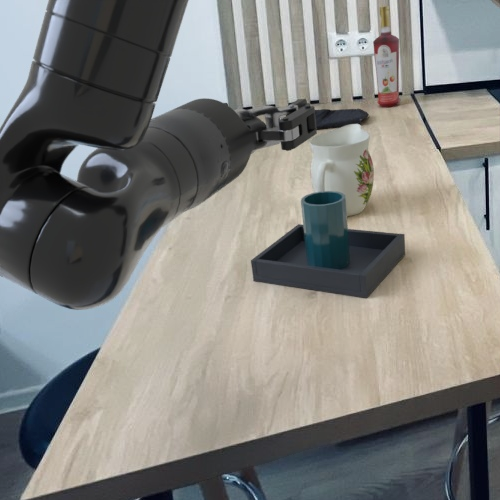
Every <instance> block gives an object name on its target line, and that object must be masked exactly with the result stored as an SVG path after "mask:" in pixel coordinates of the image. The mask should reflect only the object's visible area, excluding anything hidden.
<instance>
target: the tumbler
mask: <svg viewBox="0 0 500 500" xmlns="http://www.w3.org/2000/svg"><path fill="white" fill-rule="evenodd" d="M300 207H301V217H302V225H303V227H304V237H305V247H306V257H307V263H308V266H316V267H323V268H331V269H338V270H341V269H343V268H345V267H347V266H348V265H349V264H350V248H349V235H348V229H349V223H348V216H347V208H346V196H345V195H344V194H343V193H340V192H336V191H321V192H316V193H314V192H312V193H309V194H306V195H304V196H303V197H302V198H301V199H300Z"/></svg>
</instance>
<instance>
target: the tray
mask: <svg viewBox="0 0 500 500" xmlns="http://www.w3.org/2000/svg"><path fill="white" fill-rule="evenodd" d="M348 235H349V248H350V264H349V265H348V266H347V267H345V268H343V269H341V270H338V269H331V268H323V267H316V266H308V263H307V257H306V247H305V237H304V227H303V224H301V223H298V224H296V225H295V226H294V227H292V228H291V229H290V230H288V231H287V232H286V233H285V234H284V235H282V236H281V237H280V238H278V239H277V240H276V241H274V242H273V243H272V244H270V245H269V246H268V247H266V248H265V249H264V250H262V251H261V252H259V254H257V255H256V256H255V257H254V258H252V259H251V260H250V264H251V271H252V279H253V282H259V283H265V284H272V285H278V286H284V287H291V288H296V289H297V288H298V289H303V290H304V289H305V290H312V291H317V292H324V293H331V294H336V295H343V296H344V295H345V296H349V297H357V298H363V299H364V298H365V299H367V298H368V297H370V295H371V294H372V293H373V291H374V290H375V289H377V287H378V286H379V285H380V284H381V283H382V282H383V281H384V279H385V278H386V277H387V276H388V275H389V274H390V273H391V271H392V270H393V269H394V268H395V267H396V266H397V265H398V263H400V261H401V260H402V259H403V258H404V256H406V241H405V240H406V239H405V233H395V232H386V231H385V232H384V231H375V230H364V229H354V228H353V229H352V228H348Z"/></svg>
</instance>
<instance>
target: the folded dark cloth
mask: <svg viewBox="0 0 500 500" xmlns="http://www.w3.org/2000/svg"><path fill="white" fill-rule="evenodd" d="M369 116H370V114H369V112H367V111H366V110H363V109H361V108H346V109H345V108H344V109H342V108H341V109H329V108H322V109H315V118H316V130H321V129H331V128H341V127H343V126H346V125H349V124H359V123H361V122H363V121H364V120H365V119H366V118H368V117H369Z"/></svg>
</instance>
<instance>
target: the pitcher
mask: <svg viewBox="0 0 500 500" xmlns="http://www.w3.org/2000/svg"><path fill="white" fill-rule="evenodd" d="M370 137H371V135H370V133H369V132H368V131H367V130H365V129H363V128H362V125H361V124H359V123H357V124H349V125H346V126H343V127H338V128H336V129H332V130H328V131H325V132H322V133H319V134H318V135H317V134H316V135H314V136H313V137H311V138H310V139H309V140H308V141H309V147H310V150H311V153H312V159H311V163H310V169H309V170H310V171H309V172H310V181H311V187H312V191H313V193H316V192H321V191H336V192H340V193H343V194H344V195H345V196H346V208H347V217H352V216H356V215H358V214H360V213H362V212H363V211H364V209H365V208H366V207H367V205H368V203H369V201H370V199H371V196H372V191H373V186H374V181H375V180H374V179H375V178H374V177H375V172H374V171H375V170H374V163H373V160H372V156H371V154H370V152H369V143H370V139H371V138H370Z"/></svg>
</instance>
